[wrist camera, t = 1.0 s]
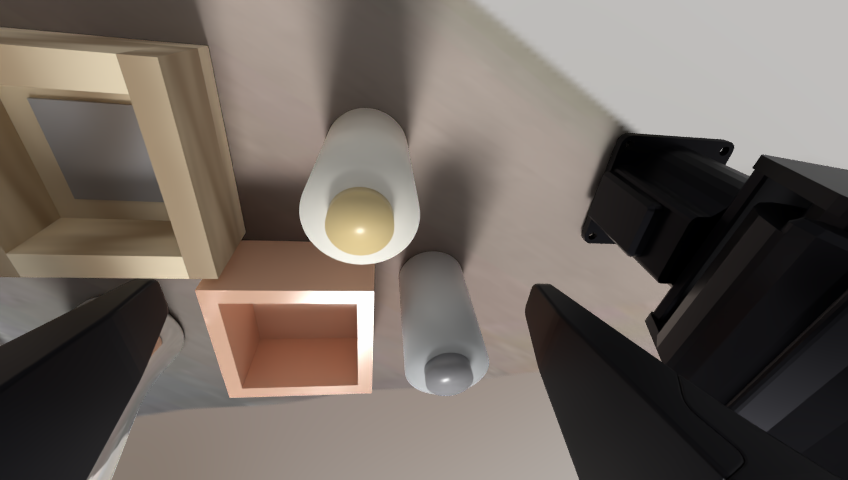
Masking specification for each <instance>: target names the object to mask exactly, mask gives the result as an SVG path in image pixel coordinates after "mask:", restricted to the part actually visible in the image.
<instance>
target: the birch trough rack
mask: <svg viewBox="0 0 848 480" xmlns="http://www.w3.org/2000/svg"><path fill="white" fill-rule="evenodd" d="M245 233H246V231H245V226H244V221H243V216H242V211H241V206H240V201H239V196H238V191H237V186H236V181H235V176H234V171H233V167H232V162H231V157H230V152H229V147H228V142H227V137H226V132H225V127H224V122H223V117H222V112H221V107H220V102H219V97H218V92H217V87H216V82H215V78H214V73H213V68H212V63H211V58H210V53H209V48H208V46H204V45H193V44H182V43H171V42H160V41H149V40H138V39H127V38H115V37H104V36H93V35H82V34H71V33H60V32H49V31H38V30H27V29H16V28H5V27H0V277H55V278H161V279H218V278H219V276H220V275H221V273H222V271H223V270H224V268H225V266H226V265H227V263H228V261H229V260H230V258H231V256H232V255H233V253H234V251H235V250H236V248H237V246H238V245H239V243H240V241H241V240H242V238H243V236H244V235H245Z"/></svg>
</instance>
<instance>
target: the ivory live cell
mask: <svg viewBox="0 0 848 480" xmlns="http://www.w3.org/2000/svg"><path fill="white" fill-rule="evenodd" d="M299 215H300V221H301V224H302V227H303V229H304V231H305V233H306V235H307V237H308V238H309V240H310V241H311V242H312V243H313V244H314V245H315V246H316V247H317V248H318V249H319V250H320V251H322V252H323V253H325V254H326V255H328V256H330V257H332V258H334V259H336V260H339V261H342V262H345V263H350V264H360V265H363V264H374V263H379V262H382V261H385V260H388V259H390V258H392V257H394V256H396V255H397V254H399V253H400V252H401V251H403V250H404V249H405V248H406V247H407V246H408V245H409V244H410V242H411V241H412V239H413V238H414V236H415V234H416V232H417V229H418V226H419V221H420V207H419V201H418V196H417V191H416V186H415V180H414V175H413V170H412V165H411V159H410V154H409V149H408V144H407V139H406V136H405V134H404V131H403V130H402V128H401V126H400V125H399V124H398V123H397V122H396V121H395V120H394V119H393V118H392V117H391V116H389V115H388V114H386V113H384V112H382V111H380V110H377V109H372V108H357V109H353V110H350V111H348V112H346V113H344V114H342V115H341V116H340V117H339V118H337V119H336V121H335V122H334V123H333V124H332V126H331V127H330V130H329V132H328V134H327V136H326V139H325V141H324V144H323V146H322V148H321V151H320V153H319V155H318V158H317V160H316V162H315V165H314V167H313V170H312V172H311V174H310V177H309V179H308V181H307V184H306V186H305V188H304V191H303V193H302V196H301V200H300V206H299Z"/></svg>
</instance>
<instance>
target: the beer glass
mask: <svg viewBox="0 0 848 480" xmlns="http://www.w3.org/2000/svg"><path fill="white" fill-rule="evenodd" d="M99 297H100V296H99ZM96 298H98V297H95V298H91V299H89V300H87V301H85V302H83V303H81V304H80V305H79V306H78V307H80V306H82V305H84V304H86V303H88V302H90V301H92V300H94V299H96ZM78 307H76V308H78ZM183 345H184V333H183V330H182V328H181V327H180V325H179V324H178V322H177V321H176V320H175V319H174V318H173V317H172V316H171V315H170V314H169V313H168V315H167V318H166V321H165V323H164V326H163V328H162V330H161V333H160V335H159V338H158V340H157V343H156V345H155V348H154V350H153V353H152V355H151V358H150V360H149V362H148V365H147V367H146V370H145V372H144V374H143V376H142V378H141V380H140V382H139V384H138V386H137V388H136V390H135V392H134V394H133V395H132V397H131V399H130V401H129V403H128V405H127V406H126V408H125V410H124V412H123V414H122V416H121V418H120V419H119V421H118V423H117V425H116V427H115V429H114V430H113V432H112V434H111V436H110V438H109V440H108V442H107V443H106V445H105V447H104V449H103V451H102V453H101V454H100V456H99V458H98V460H97V462H96V464H95V466H94V467H93V469H92V471H91V473H90V475H89V477H88V479H87V480H111V479H112V476H113V474H114V471H115V469H116V466H117V464H118V461H119V458H120V456H121V453H122V451H123V448H124V445H125V443H126V440H127V437H128V435H129V432H130V429H131V427H132V425H133V422H134V419H135V417H136V415H137V412H138V410H139V408H140V406H141V404H142V402H143V400H144V398H145V396H146V395H147V393H148V392H149V390H150V389H151V387H152V385H153V384H154V383H155V381H156V380H157V379H158V378H159V376H160V375H161V374H162V373H163V372H164V371H165V370H166V369H167V367H168V366H169V365H170V364H171V363H172V362H173V361H174V359H175V358H176V357H177V356H178V355H179V353H180V352H181V350H182V348H183Z"/></svg>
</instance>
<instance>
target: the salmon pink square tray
mask: <svg viewBox="0 0 848 480" xmlns="http://www.w3.org/2000/svg"><path fill="white" fill-rule="evenodd" d="M374 280H375V263H374V264H363V265H360V264H350V263H345V262H342V261H339V260H336V259H334V258H332V257H330V256H328V255H326V254H325V253H323V252H322V251H320V250H319V249H318V248H317V247H316V246H315V245H314V244H313V243H312V242H302V241H258V240H241V241H240V243H239V245H238V246H237V248H236V250H235V251H234V253H233V255H232V256H231V258H230V260H229V261H228V263H227V265H226V266H225V268H224V270H223V271H222V273H221V275H220V276H219V278H218V279H202V280H201V282H200V283H199V285H198V286H197V288H196V289H195V292H196V295H197V298H198V301H199V304H200V307H201V310H202V314H203V317H204V320H205V323H206V326H207V329H208V332H209V335H210V338H211V341H212V344H213V348H214V351H215V354H216V357H217V360H218V363H219V366H220V369H221V372H222V375H223V378H224V381H225V385H226V388H227V391H228V394H229V397H230V398H238V397H270V396H301V395H332V394H363V393H372V361H373V320H374Z"/></svg>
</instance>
